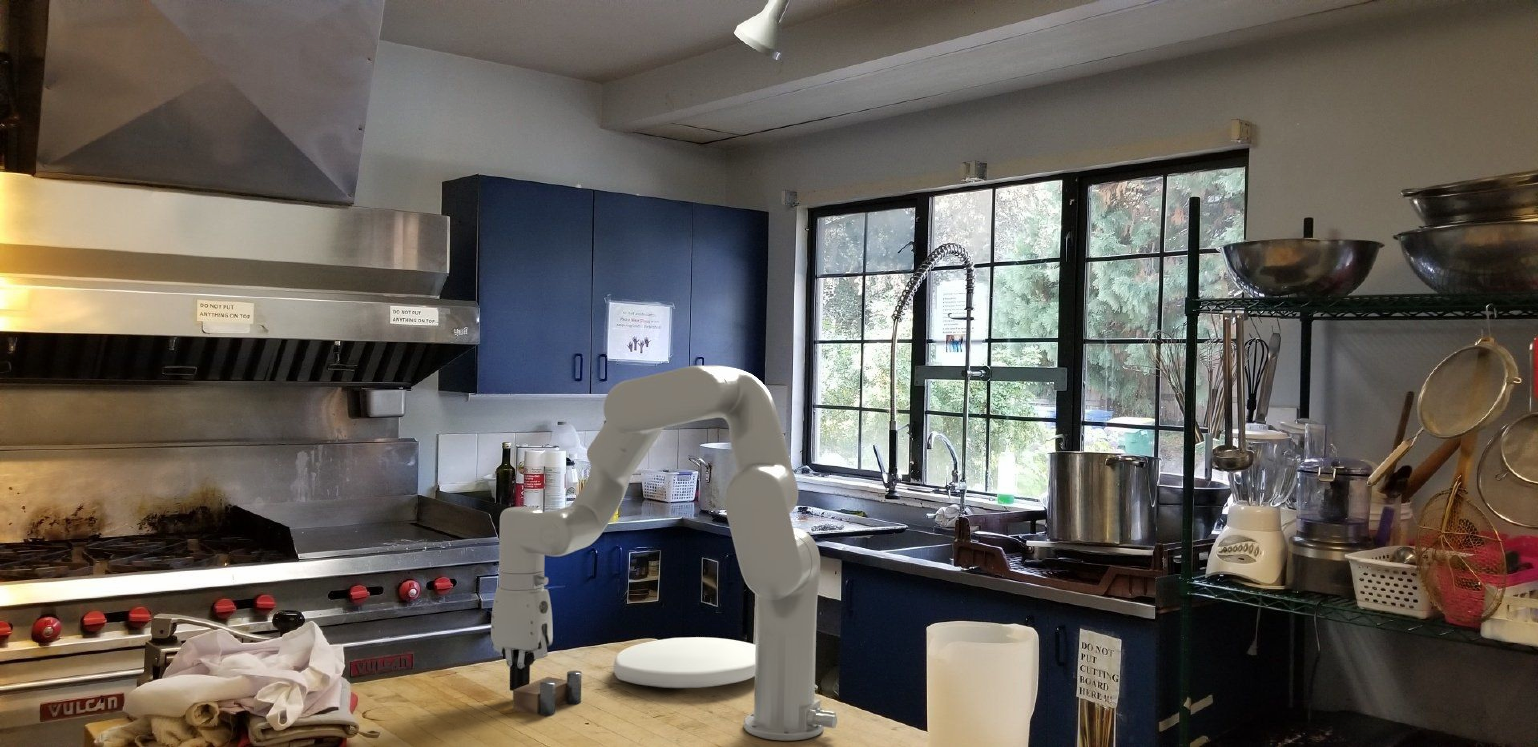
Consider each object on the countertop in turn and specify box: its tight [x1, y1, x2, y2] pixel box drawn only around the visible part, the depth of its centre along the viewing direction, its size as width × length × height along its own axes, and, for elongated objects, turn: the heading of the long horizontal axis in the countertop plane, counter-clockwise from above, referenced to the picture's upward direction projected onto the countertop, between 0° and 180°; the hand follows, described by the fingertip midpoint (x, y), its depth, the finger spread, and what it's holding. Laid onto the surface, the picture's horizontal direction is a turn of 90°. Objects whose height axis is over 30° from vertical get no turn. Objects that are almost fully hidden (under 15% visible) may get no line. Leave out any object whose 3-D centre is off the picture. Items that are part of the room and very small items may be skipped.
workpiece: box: [512, 676, 567, 715], centre depth 183 cm, size 5×9×4 cm, turn 153°
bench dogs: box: [539, 670, 582, 717], centre depth 181 cm, size 2×9×5 cm, turn 153°
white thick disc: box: [613, 636, 755, 689], centre depth 201 cm, size 28×6×27 cm
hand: (519, 688), depth 185 cm, fingers closed
